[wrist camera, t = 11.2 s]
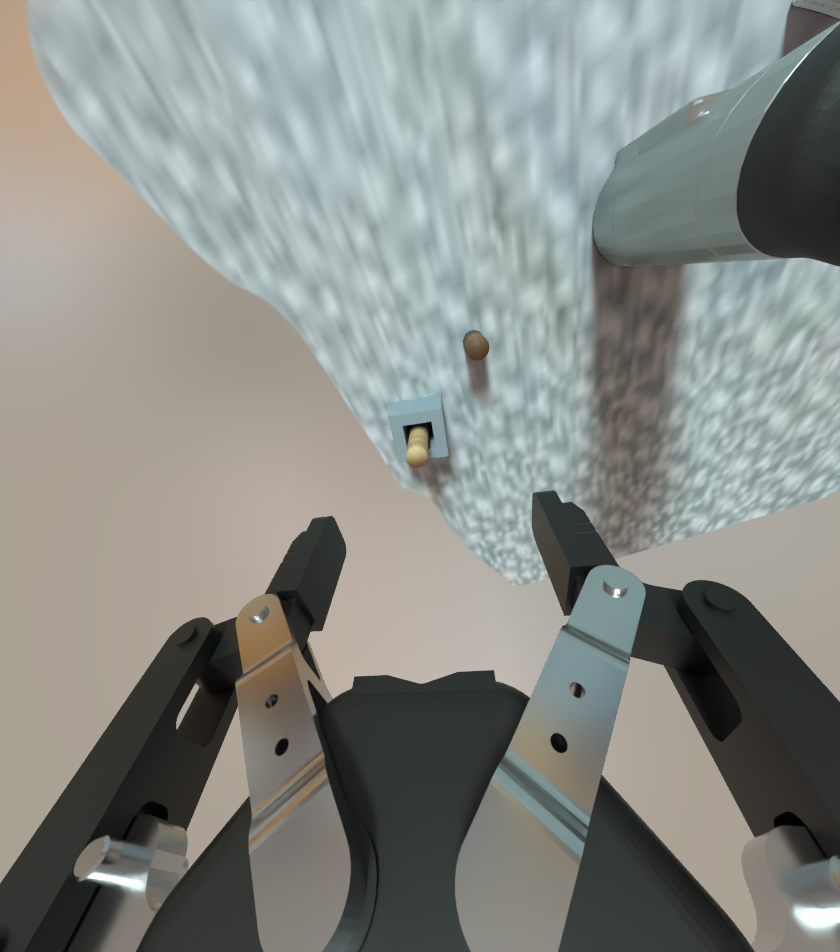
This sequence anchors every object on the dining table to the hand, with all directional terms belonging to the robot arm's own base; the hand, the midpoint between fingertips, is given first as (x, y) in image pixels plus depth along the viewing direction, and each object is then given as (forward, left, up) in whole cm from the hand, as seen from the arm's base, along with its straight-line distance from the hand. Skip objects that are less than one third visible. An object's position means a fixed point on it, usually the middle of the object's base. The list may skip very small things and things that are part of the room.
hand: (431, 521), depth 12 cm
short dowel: (-1, +5, -30) cm, 31 cm away
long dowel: (+8, -3, -30) cm, 31 cm away
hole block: (+8, -3, -30) cm, 31 cm away
